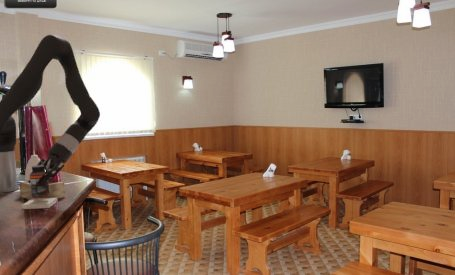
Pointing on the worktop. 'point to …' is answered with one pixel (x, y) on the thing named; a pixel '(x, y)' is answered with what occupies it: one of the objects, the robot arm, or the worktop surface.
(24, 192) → the wooden frame
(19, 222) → the worktop surface
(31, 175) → the supplement bottle
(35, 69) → the robot arm
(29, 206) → the tile
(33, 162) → the sauce bottle
